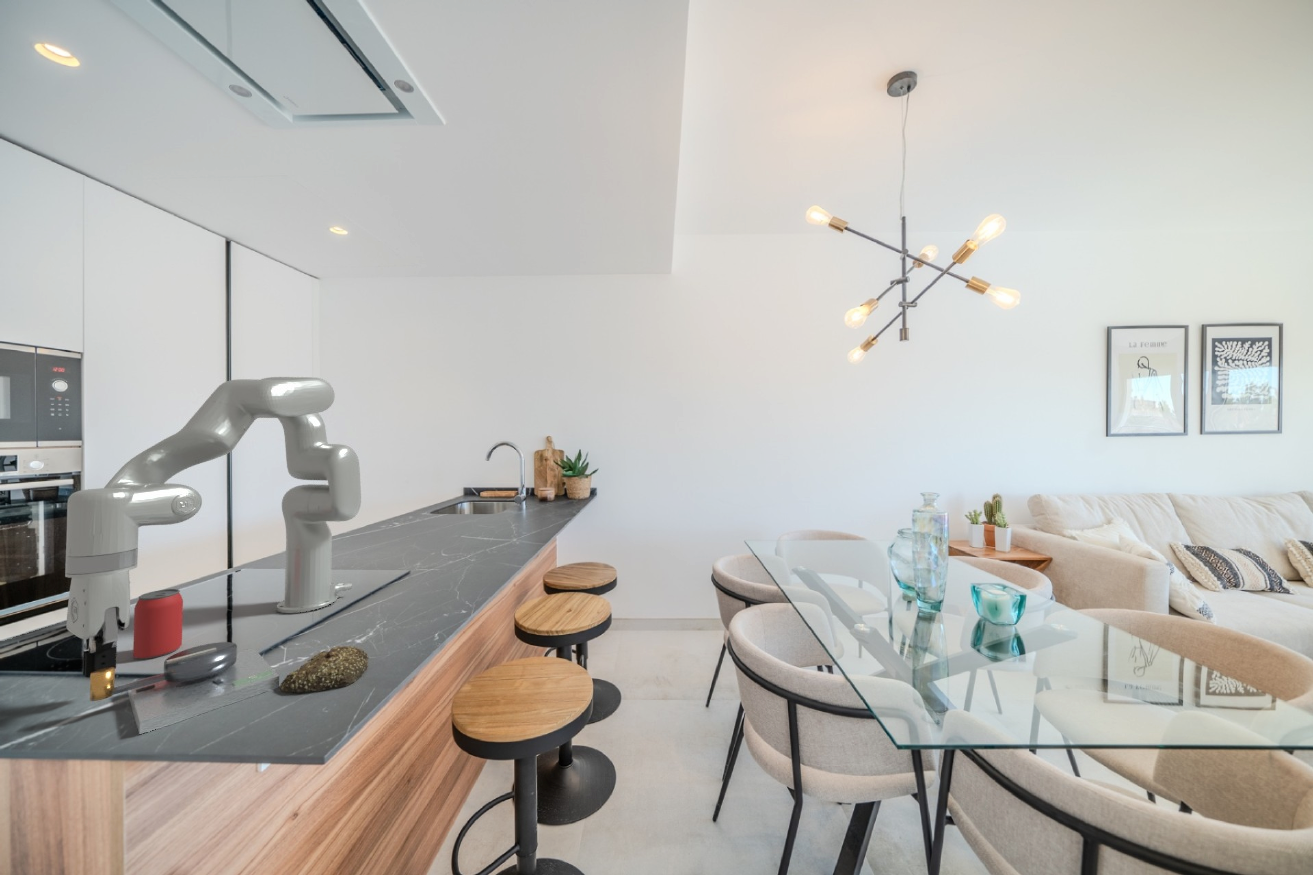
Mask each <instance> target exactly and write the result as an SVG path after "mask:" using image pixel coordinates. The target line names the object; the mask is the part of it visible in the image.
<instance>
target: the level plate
mask: <svg viewBox="0 0 1313 875" xmlns="http://www.w3.org/2000/svg"><path fill="white" fill-rule="evenodd" d="M162 674H164V672H163V673H160V674H156V675H155V674H154V675H152V676H147V677H144V678H141V679H137V680H134V681H130V682H129V683H133V682H136V681H140V680H144V679H147V678H151V677H154V676H158V675H162ZM279 688H280V675H279V673H278V672H276V670H275V669H273V667H272V666H271V665H270V664H269V663H268V662H267V660H266V659H264V657H263V656H262V655H261V654H260V653H259V652H258V651H257V649H255V648H254V647H253V648H249V649H246V650H242V651H238V652H237V659H236V662H235V663H234V664H233V665H232V666H231V667H229V668H227V669H225V670H223V671H221V672H218V673H216V674H213V675H210V676H207V677H203V678H200V679H195V680H190V681H184V682H168V681H165V680H163V681H160V682H156V683H153V684H149V685H146V686H142V687H139V688H135V689H132V690H128V691H127V692H128V693H127V694H128V698H129V703H130V706H131V710H132V712H133V713H132V714H133V716H134V717H133V718H134V721H135V724H136V729H137V732H138V735H139V734H141V733H144V732H148V733H151V732H153V731H152V730H154V731H156V730H159V729H162V728H165V727H167V726H170V725H174V724H177V723H179V722H182V721H185V720H188V719H191V718H194V717H196V716H200V715H203V714H205V713H209V712H212V711H215V710H217V709H220V708H222V707H226V706H229V705H231V704H235V703H237V702H240V701H243V700H246V699H249V698H252V697H256V696H257V695H261V694H265V693H266V692H269V691H272V690H275V689H279ZM155 729H156V730H155ZM150 731H151V732H150Z"/></svg>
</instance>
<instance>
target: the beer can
mask: <svg viewBox="0 0 1313 875" xmlns="http://www.w3.org/2000/svg"><path fill="white" fill-rule="evenodd" d="M180 592H181V591H180V589H178V588H177V589H176V588H167V589H160V590H154V591H150V592H146V593H143V594H141V595H140V596H138V600H137V601H136V604H135V605H134V609H133V610H134V611H133V612H134V613H133V644H132V645H133V646H132V647H133V649H132V656H133V658H135V659H139V660H147V659H148V660H149V659H153V658H159V657H163V656H166V655H169V654H172V653H173V652H175V651H177V650H179V649H180V648H181V646H182V645H183V616H184V599H183V597H182V595H181V593H180Z"/></svg>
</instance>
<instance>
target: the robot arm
mask: <svg viewBox="0 0 1313 875" xmlns="http://www.w3.org/2000/svg"><path fill="white" fill-rule="evenodd" d="M335 394H336V393H335V390H334V388H333V386H332V385H331V383H329V382H328V381H327V380H325V379H323V378H320V377H303V376H302V377H299V376H297V377H295V376H294V377H293V376H271V377H264V378H261V379H252V378H251V379H244V378H243V379H240V378H238V379H231V380H228V381H224V382H223V383H221V384H220V385H219V386H217V387H216V389H214V391H213V392H212V393H211V394H210V396H208V397H207V399H206V401H204V402H203V404H202V405H201V406H200V407H199V408H198V410H196V412H194V414H193V416H191V418H190V419H189V420H188V421H187V423H186V424H185V425H184V426H183V427H182V428H181V429H180V430H179V431H177V432H176V433H174V434H172V435H170V436H168V437H166V438H164V439H162V440H160V441H159V442H157V443H155V444H154V445H152V446H150V447H148V448H147V449H145V450H144V451H143V450H142V452H140V453H138V454H137V455H135V456H133V457H132V458H131V459H129V460H128V461H127V462H126V463H124V465H123V466H122V467H121V468H119V470H118V471H117V472H116V473H115V474H114V475H113V476H112V477H111V479H109V481H108V482H107V483H106V484H105V485H104V487H103V488H91V489H90V488H89V489H81V490H78V491H75V492H72V493H71V494H70V495H69V496H68V499H67V504H66V506H67V509H66V510H67V511H66V543H65V546H66V547H65V567H64V568H65V572H64V573H65V575H64V576H65V578H69V579H70V578H71V579H70V580H71V581H70V586H69V594H68V603H67V604H68V605H67V614H66V626H65V627H66V629H67V631H69V633H71V634H73V635H74V636H76V637H77V638H79V639H81V640H83V649H84V651H82V653H83V655H82V656H83V657H82V676H84V677H85V678H90V674H91V673H92V672H94V671H97V670H100V669H104V668H109V667H114V668H115V669H116V668H117V653H118V652H117V649H118V648H117V647H118V645H117V644H118V632H119V630H120V631H125V630H126V629H127V628H128V627H129V626H130V619H131V581H130V571H131V570H134V569H136V568H138V555H139V554H138V553H139V551H138V550H139V549H138V547H139V528H140V527H144V526H145V527H146V526H147V527H148V526H167V525H175V524H179V523H180V524H181V523H183V522H185V521H187V520H191V518H192V517H194V516H195V515H197V514H198V512H199V511H201V510H200V509H201V508H202V505H203V504H202V503H203V499H202V496H201V494H200V493H199V491H197V490H196V489H195V488H193V487H191V486H189V485H186V484H179V483H167V481H168V480H170V479H171V478H173V477H174V476H175V475H177V474H179V473H180V472H182V471H184V470H187V469H188V468H191V467H194V466H197V465H199V464H202V463H206V462H209V461H213V460H215V459H218V458H221V457H223V456H226V455H228V454H229V453H231V452H232V451H233V450H234V449H235V448H236V446H237V444H239V442H240V441H241V439H242V438H243V437H244V435H245V434H246V432H248V430H249V428H250V427H251V426H252V425H253V423H254V422H255V421H256V420H257V419H262V418H263V419H278V421H279V422H280V424H281V426H282V430H283V433H284V444H285V458H286V461H285V462H286V468H287V472H288V474H289V475H290V476H291V477H292V478H294V479H297V480H301V481H304V480H305V481H327V483H328V484H314V483H313V484H308V483H307V484H301V485H297V486H294V487H291V488H290V489H288V490H287V491H286V493H285V494H284V495H283V497H282V499H281V500H282V501H281V512H282V515H283V519H284V525H285V540H286V542H285V543H286V544H285V566H284V567H285V570H284V571H285V572H284V573H285V576H284V578H285V579H284V600H282V601H279V602H278V603H277V605H276V611H277V612H279V613H281V614H282V613H283V614H299V613H300V612H301V613H307V612H311V611H310V610H313V611H315V610H314V609H317V608H320V607H322V606H325V605H327V604H330V603H331V602H334V601H335V600H336V599H337V598H339V596H338V594H339V592H346V591H349V590H350V591H351V590H352V589H353V588H352V587H353V584H352V582H346V583H343V582H339V583H334V582H332V552H333V550H332V547H333V546H332V544H333V537H332V536H333V535H332V531H331V528H330V526H329V524H328V522H338V523H339V522H347V521H350V520H353V519H354V518H355V517H356V516H357V515H358V513H359V511H360V508H361V504H362V503H361V502H362V493H361V491H362V490H361V471H360V469H361V468H360V460H359V457H358V455H357V453H356V451H355V450H354V449H353V448H352V447H350V446H348V445H345V444H339V443H328V438H327V429H326V425H325V422H324V419H323V417H322V416H321V414H320V413H323V412H324V411H328V409H329V408H330V407H332V405H333V403H334V401H335V398H336V397H335ZM337 600H338V599H337ZM317 610H318V609H317ZM306 611H307V612H306Z"/></svg>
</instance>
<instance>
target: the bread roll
mask: <svg viewBox="0 0 1313 875" xmlns="http://www.w3.org/2000/svg"><path fill="white" fill-rule="evenodd" d="M368 663H369V657H368V653H366V651H365V650H363V649H362V648H360V647H355V646H351V645H350V646H347V645H344V646H343V645H342V646H337V647H332V648H330V650H329V651H325V650H323V651H321V652H318V653H317V654H315V655H314V656H313V657H311V659H309V660H307V661H306V662H304V664H302V665H300V667H299V668H297V669H296V670H293V672H290V673H289V674H287V675H286V677H284V679H283V680H282V682H281V684H280V685H279V688H280V689H281V691H282V692H285V693H286V692H287V693H309V692H318V691H319V692H320V691H325V690H332V689H337V688H338V689H339V688H344V687H346V686H349V685H352V684H353V683H355V682H356V681H358V679H360V678H361V677H363V675H364V674H365V672H366V671H367V669H368V667H369V665H368Z"/></svg>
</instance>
